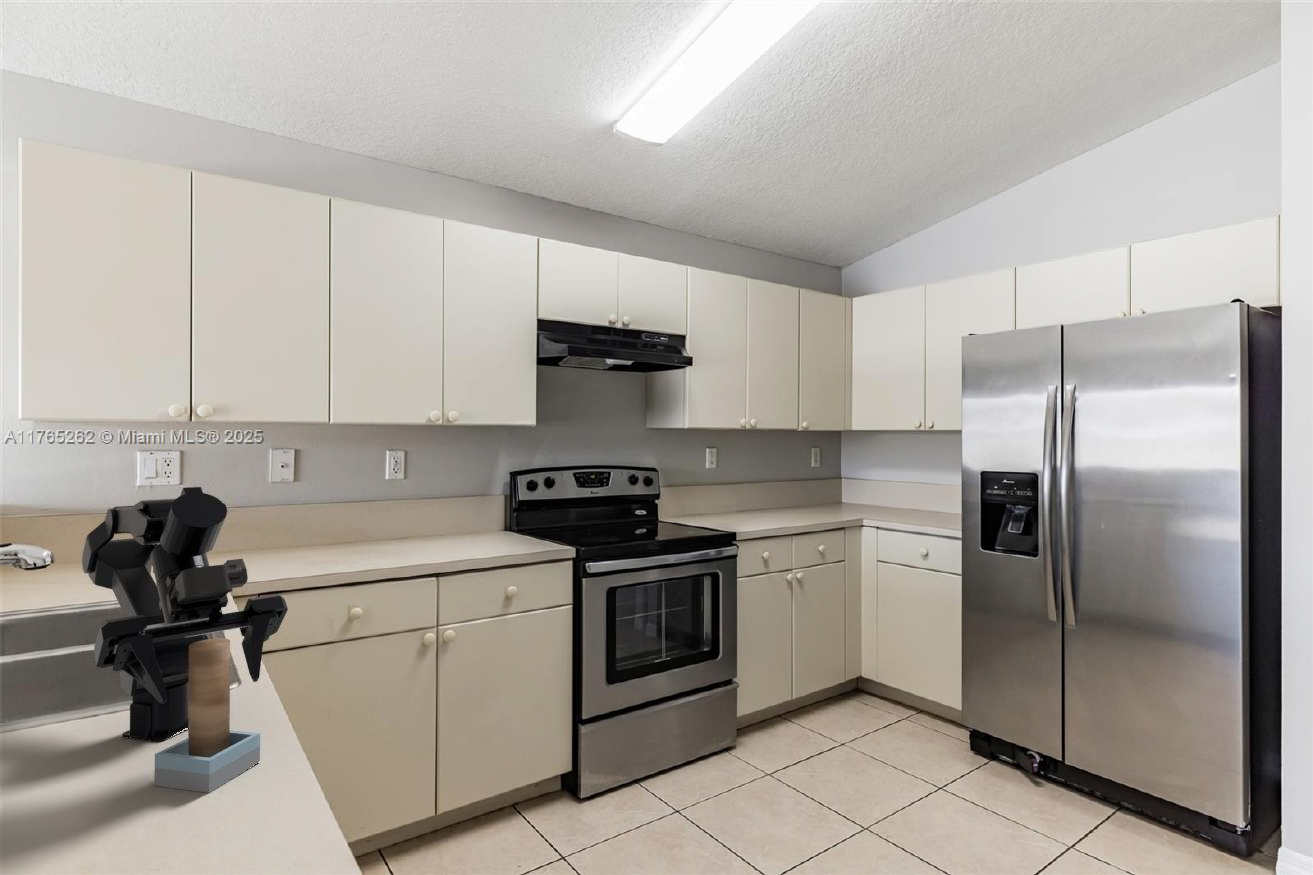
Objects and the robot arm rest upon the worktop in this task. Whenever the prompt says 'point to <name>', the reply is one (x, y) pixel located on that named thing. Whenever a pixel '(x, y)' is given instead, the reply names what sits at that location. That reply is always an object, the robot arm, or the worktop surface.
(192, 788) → the light blue open box
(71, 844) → the worktop surface
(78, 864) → the worktop surface
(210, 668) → the pillar
